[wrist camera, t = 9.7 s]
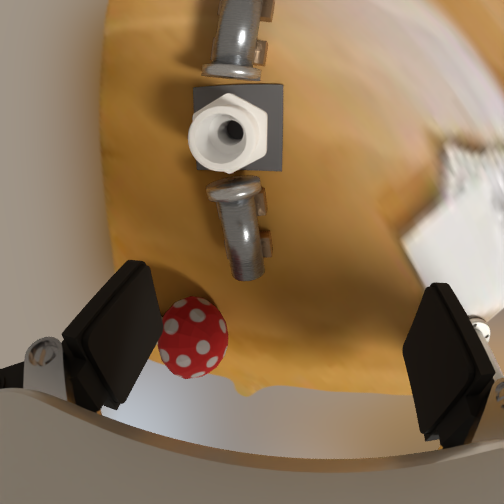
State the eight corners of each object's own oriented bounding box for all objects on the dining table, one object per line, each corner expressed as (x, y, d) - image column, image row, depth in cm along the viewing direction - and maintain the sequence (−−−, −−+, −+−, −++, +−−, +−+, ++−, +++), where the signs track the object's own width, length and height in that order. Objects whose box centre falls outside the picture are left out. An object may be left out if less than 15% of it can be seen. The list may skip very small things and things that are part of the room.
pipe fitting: (270, 94, 25) (263, 91, 18) (269, 163, 29) (262, 185, 22) (206, 95, 26) (178, 95, 19) (208, 162, 29) (183, 183, 23)
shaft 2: (274, 254, 34) (270, 284, 29) (231, 257, 35) (220, 286, 30) (263, 171, 30) (256, 188, 25) (215, 177, 31) (198, 194, 26)
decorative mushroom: (121, 368, 38) (189, 399, 29) (113, 295, 38) (180, 303, 29) (176, 353, 47) (247, 371, 38) (171, 289, 47) (243, 293, 39)
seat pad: (281, 170, 29) (281, 171, 29) (197, 169, 30) (196, 169, 30) (283, 84, 25) (283, 84, 25) (194, 87, 26) (193, 87, 26)
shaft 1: (263, 82, 25) (255, 78, 20) (212, 78, 25) (193, 73, 20) (276, -4, 20) (272, -25, 15) (225, -7, 20) (210, -27, 15)
